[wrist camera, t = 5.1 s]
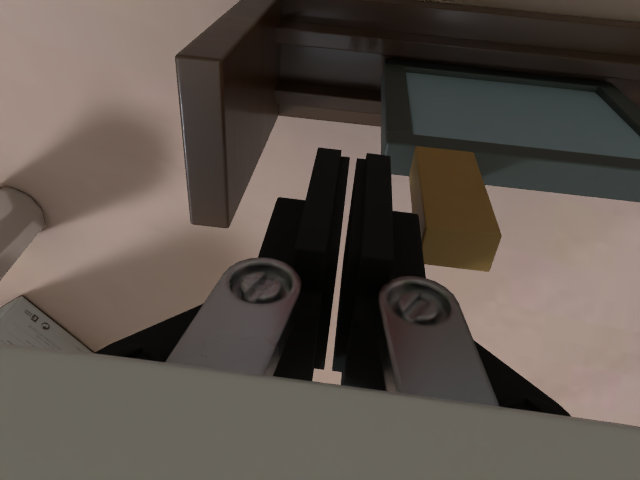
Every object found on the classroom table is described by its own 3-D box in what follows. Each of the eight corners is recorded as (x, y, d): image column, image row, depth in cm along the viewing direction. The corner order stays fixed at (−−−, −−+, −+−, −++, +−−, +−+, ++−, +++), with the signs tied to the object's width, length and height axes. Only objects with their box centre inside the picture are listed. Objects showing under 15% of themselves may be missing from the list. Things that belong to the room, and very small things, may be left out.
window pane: (384, 58, 20) (386, 222, 11) (611, 81, 20) (830, 274, 10) (381, 82, 21) (380, 259, 11) (601, 106, 20) (799, 309, 11)
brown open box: (257, -16, 20) (173, 54, 12) (763, 34, 20) (1039, 145, 11) (257, 103, 23) (189, 225, 15) (697, 151, 23) (880, 306, 14)
